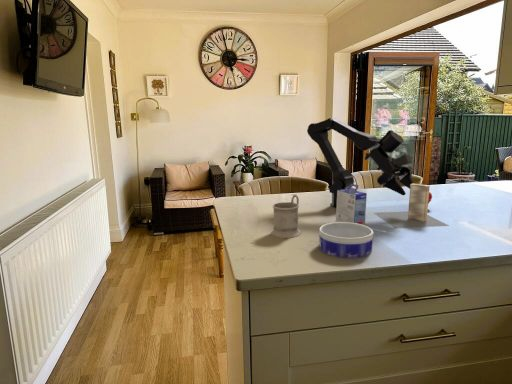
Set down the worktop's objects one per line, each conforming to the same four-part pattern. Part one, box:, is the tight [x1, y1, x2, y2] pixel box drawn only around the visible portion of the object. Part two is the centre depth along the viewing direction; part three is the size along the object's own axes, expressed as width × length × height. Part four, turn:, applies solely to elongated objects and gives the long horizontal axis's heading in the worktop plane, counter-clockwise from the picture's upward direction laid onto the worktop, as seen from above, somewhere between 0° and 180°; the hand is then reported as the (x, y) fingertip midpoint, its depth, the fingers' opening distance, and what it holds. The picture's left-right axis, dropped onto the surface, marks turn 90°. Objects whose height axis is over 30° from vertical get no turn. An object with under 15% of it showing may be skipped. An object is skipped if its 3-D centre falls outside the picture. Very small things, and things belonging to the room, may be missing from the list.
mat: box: [373, 210, 450, 229], centre depth 133 cm, size 19×20×1 cm
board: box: [408, 183, 430, 222], centre depth 130 cm, size 6×2×13 cm, turn 43°
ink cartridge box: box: [335, 183, 368, 226], centre depth 127 cm, size 10×6×14 cm, turn 27°
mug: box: [270, 193, 302, 239], centre depth 121 cm, size 14×10×12 cm
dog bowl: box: [318, 221, 374, 259], centre depth 105 cm, size 15×15×6 cm
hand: (410, 192), depth 132 cm, fingers open, 9 cm apart
